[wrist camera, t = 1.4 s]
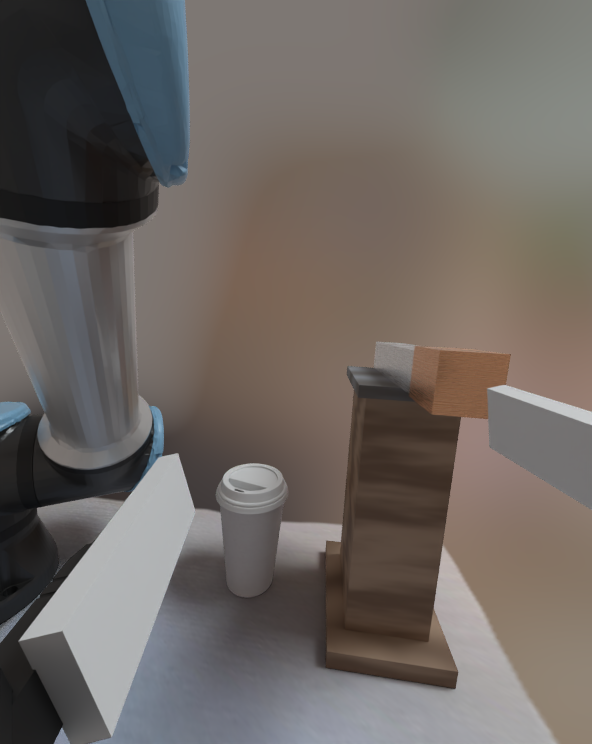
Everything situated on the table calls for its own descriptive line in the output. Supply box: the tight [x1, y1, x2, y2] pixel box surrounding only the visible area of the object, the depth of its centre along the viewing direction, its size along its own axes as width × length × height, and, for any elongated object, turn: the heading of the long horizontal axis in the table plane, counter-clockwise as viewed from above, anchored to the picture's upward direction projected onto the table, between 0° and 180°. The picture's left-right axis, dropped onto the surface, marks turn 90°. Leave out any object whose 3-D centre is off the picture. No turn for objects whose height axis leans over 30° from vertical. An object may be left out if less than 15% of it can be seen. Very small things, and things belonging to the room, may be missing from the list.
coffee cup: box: [216, 464, 288, 598], centre depth 40 cm, size 10×10×15 cm
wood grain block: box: [374, 342, 511, 419], centre depth 29 cm, size 23×4×4 cm, turn 174°
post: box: [326, 366, 461, 688], centre depth 35 cm, size 16×13×30 cm
